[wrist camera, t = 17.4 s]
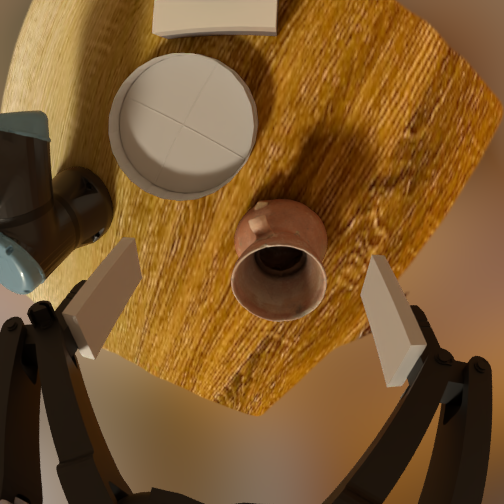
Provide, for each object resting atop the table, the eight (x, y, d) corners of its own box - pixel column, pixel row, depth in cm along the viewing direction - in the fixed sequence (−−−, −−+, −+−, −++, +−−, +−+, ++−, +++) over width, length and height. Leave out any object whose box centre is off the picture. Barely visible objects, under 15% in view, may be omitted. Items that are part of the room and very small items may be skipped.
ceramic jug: (220, 202, 48) (197, 248, 36) (307, 173, 44) (315, 210, 32) (261, 288, 56) (254, 346, 44) (337, 267, 52) (349, 324, 40)
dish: (159, 34, 35) (146, 29, 30) (287, 97, 39) (287, 97, 34) (105, 154, 45) (89, 161, 41) (214, 214, 49) (207, 228, 45)
